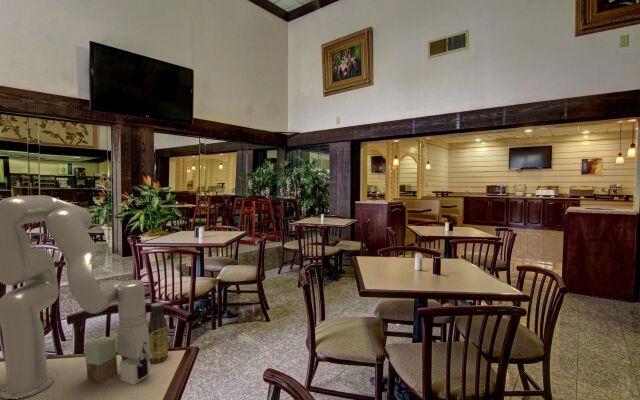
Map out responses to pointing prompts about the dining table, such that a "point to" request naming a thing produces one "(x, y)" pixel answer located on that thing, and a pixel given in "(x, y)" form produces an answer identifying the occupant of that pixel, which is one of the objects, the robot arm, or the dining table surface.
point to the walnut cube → (102, 371)
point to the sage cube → (100, 350)
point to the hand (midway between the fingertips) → (135, 373)
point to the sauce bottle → (158, 334)
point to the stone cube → (131, 370)
